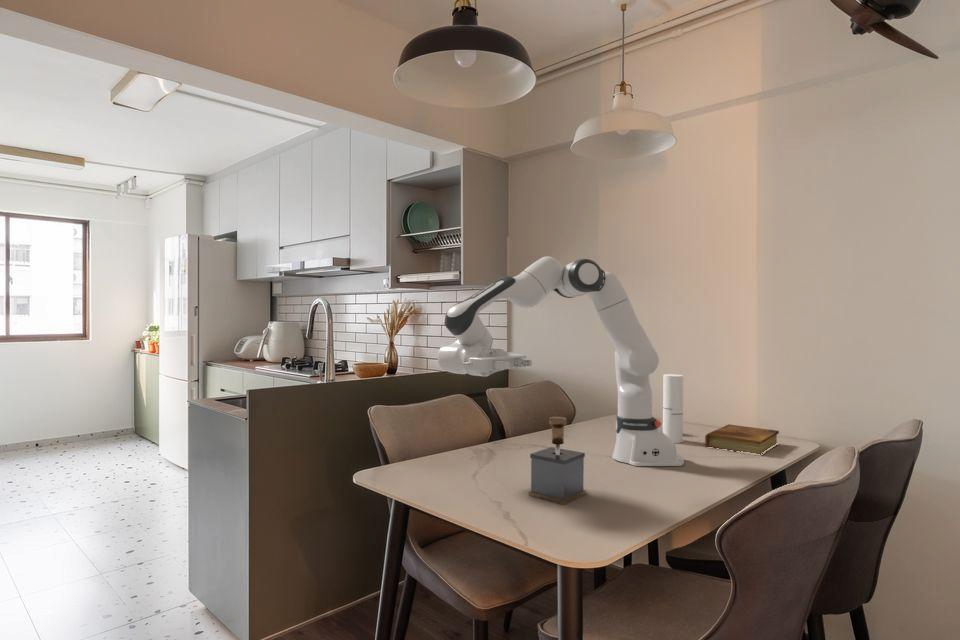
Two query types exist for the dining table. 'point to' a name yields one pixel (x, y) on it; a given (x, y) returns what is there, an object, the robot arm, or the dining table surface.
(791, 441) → the dining table surface
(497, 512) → the dining table surface
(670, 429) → the cylindrical container
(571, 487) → the grey box
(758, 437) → the diary
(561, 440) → the plunger
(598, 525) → the dining table surface
